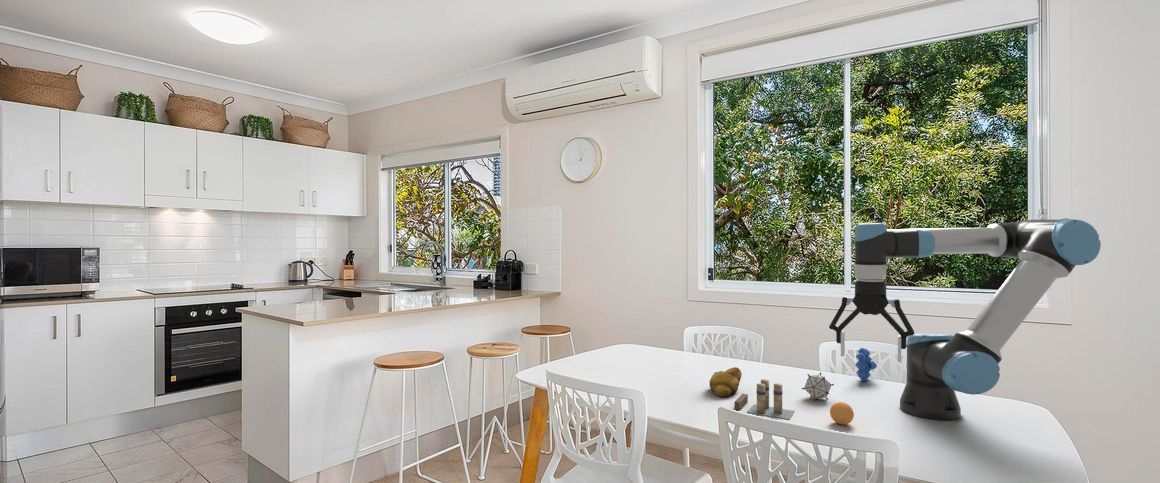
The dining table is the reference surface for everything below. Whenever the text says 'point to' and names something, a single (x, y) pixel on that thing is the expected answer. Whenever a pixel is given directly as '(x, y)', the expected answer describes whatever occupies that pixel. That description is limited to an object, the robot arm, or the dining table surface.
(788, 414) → the pin deck
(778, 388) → the front pin
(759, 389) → the pin
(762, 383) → the pin
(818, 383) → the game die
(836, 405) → the ball
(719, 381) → the bread roll
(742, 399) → the backstop
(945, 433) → the dining table surface
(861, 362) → the grapes
